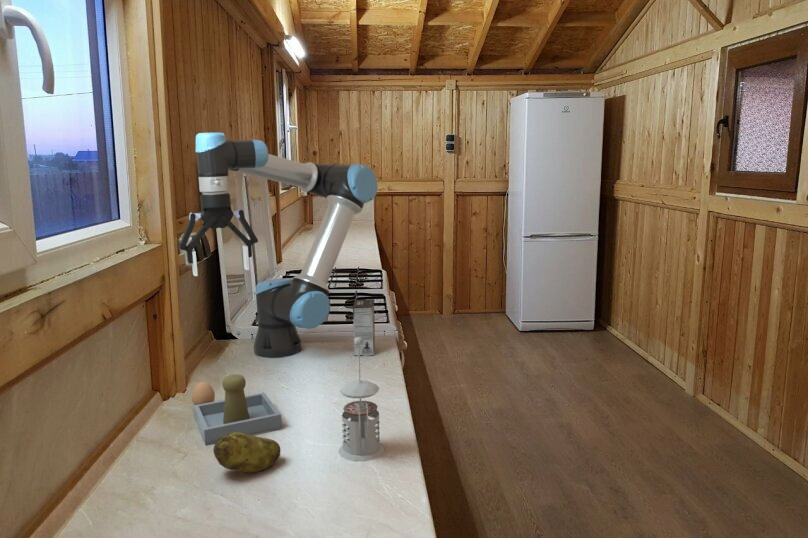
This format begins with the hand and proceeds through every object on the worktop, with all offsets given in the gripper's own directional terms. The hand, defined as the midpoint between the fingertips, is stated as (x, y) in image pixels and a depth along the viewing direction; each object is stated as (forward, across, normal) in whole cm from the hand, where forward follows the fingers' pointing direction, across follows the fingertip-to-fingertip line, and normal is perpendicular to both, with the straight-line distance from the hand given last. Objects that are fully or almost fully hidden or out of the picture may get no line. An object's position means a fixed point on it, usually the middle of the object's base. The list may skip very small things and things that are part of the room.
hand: (221, 272), depth 165 cm
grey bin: (+31, -5, -28) cm, 42 cm away
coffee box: (+32, +43, +5) cm, 54 cm away
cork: (+30, -5, -28) cm, 42 cm away
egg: (+31, -10, -16) cm, 36 cm away
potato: (+31, -8, -51) cm, 60 cm away
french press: (+31, +15, -56) cm, 65 cm away
